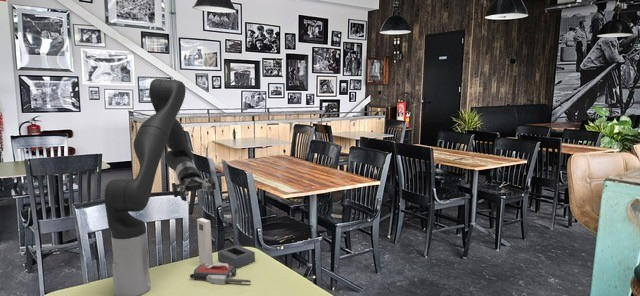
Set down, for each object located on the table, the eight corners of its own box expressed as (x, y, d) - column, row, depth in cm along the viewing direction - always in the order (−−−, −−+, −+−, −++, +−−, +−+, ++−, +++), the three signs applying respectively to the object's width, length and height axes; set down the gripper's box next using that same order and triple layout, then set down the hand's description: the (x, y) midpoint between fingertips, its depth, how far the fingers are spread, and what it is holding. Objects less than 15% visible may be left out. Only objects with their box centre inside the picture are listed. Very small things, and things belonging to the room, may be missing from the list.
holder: (218, 261, 148) (217, 251, 148) (237, 254, 154) (237, 244, 154) (235, 269, 142) (234, 259, 141) (255, 261, 147) (254, 252, 147)
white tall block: (199, 262, 148) (196, 219, 146) (204, 260, 149) (202, 217, 147) (207, 266, 144) (204, 222, 142) (212, 264, 146) (210, 220, 144)
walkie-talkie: (186, 283, 133) (249, 287, 129) (185, 269, 132) (249, 273, 129) (198, 271, 141) (258, 274, 138) (198, 258, 141) (258, 261, 137)
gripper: (166, 169, 154) (175, 191, 141) (206, 162, 160) (219, 182, 147) (168, 188, 157) (177, 210, 144) (208, 180, 164) (220, 201, 151)
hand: (198, 196), depth 146 cm, fingers open, 8 cm apart
